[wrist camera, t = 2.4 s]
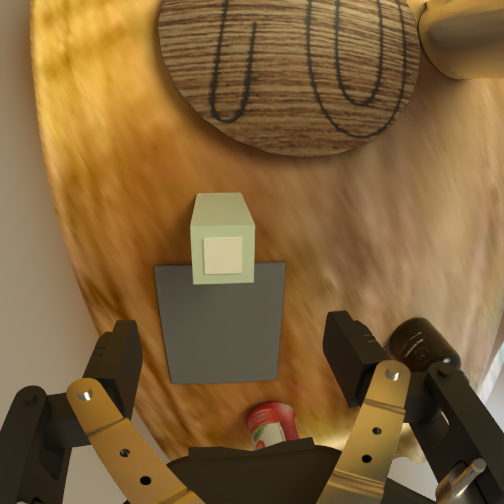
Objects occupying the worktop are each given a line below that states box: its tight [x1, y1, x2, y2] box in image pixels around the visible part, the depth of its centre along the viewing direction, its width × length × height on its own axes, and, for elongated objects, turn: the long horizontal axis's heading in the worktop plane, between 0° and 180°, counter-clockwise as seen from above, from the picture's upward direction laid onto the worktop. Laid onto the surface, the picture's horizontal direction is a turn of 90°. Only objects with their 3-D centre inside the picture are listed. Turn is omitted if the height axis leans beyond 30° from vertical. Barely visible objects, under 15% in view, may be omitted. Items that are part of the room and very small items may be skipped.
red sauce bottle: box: [246, 401, 300, 451], centre depth 28 cm, size 7×7×28 cm
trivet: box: [158, 0, 420, 157], centre depth 23 cm, size 25×25×2 cm
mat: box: [154, 261, 286, 384], centre depth 34 cm, size 16×13×1 cm
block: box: [190, 192, 255, 284], centre depth 25 cm, size 4×4×10 cm
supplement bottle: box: [390, 317, 469, 384], centre depth 33 cm, size 7×7×12 cm
